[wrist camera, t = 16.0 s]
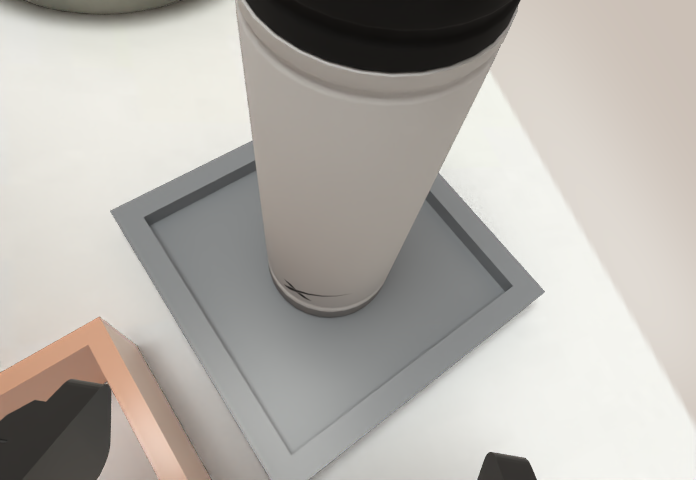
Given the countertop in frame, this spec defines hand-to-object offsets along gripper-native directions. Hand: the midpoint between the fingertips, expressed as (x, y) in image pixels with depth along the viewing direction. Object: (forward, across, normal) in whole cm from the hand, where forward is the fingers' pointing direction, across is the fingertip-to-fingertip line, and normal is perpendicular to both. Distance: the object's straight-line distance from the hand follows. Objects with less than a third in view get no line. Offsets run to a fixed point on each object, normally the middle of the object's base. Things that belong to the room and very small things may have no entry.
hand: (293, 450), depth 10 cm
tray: (+16, 0, +2) cm, 16 cm away
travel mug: (+15, 0, +2) cm, 16 cm away
